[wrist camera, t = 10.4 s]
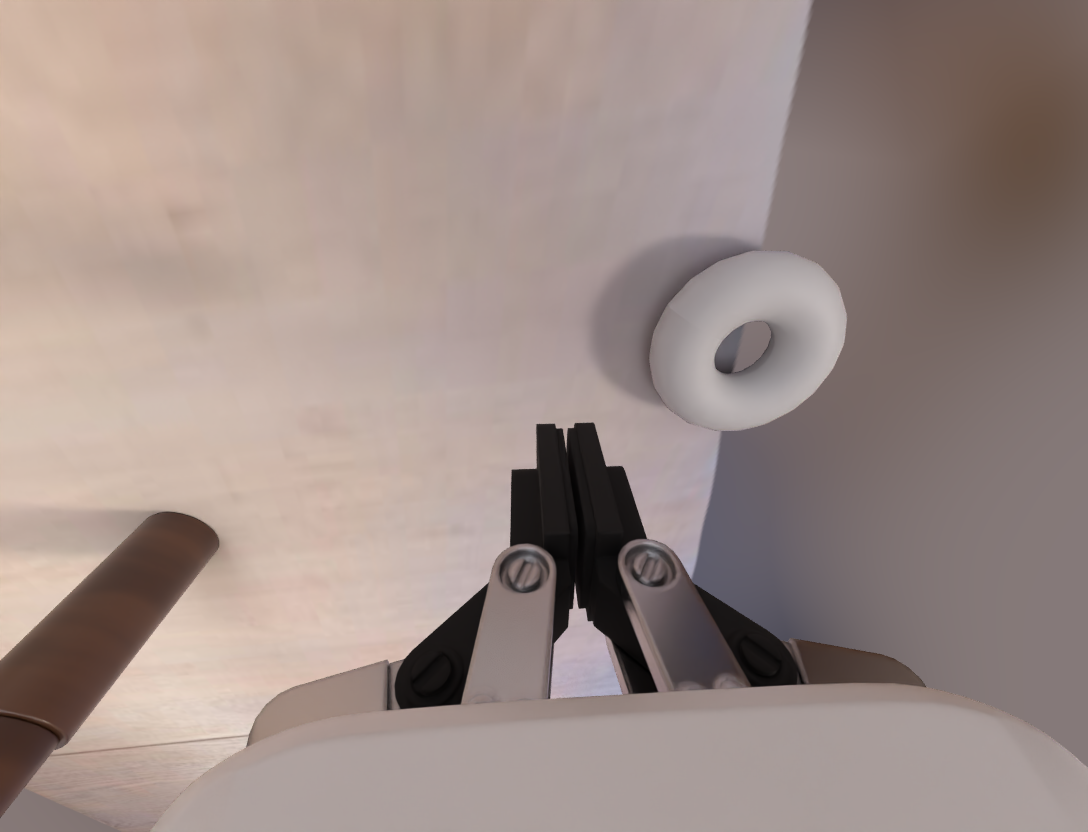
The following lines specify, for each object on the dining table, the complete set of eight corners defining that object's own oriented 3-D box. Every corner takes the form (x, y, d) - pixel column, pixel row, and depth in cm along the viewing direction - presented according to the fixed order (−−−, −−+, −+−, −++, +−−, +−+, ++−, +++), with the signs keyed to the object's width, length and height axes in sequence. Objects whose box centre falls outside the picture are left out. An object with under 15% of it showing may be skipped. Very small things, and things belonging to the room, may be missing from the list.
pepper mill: (174, 502, 28) (-173, 848, 14) (234, 542, 30) (-11, 872, 16) (128, 527, 29) (-236, 872, 15) (189, 564, 31) (-76, 892, 17)
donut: (767, 418, 27) (858, 261, 21) (797, 452, 24) (911, 280, 18) (620, 399, 25) (678, 225, 20) (633, 431, 22) (704, 239, 17)
